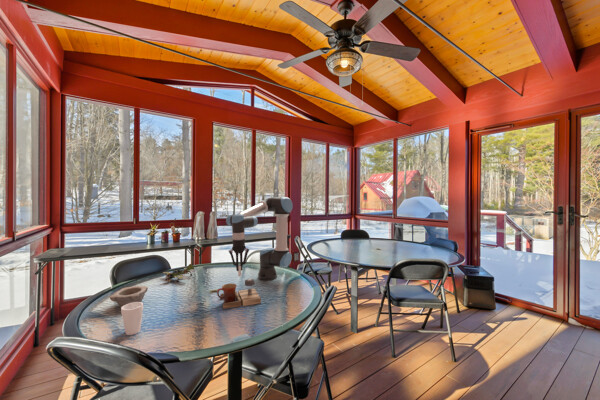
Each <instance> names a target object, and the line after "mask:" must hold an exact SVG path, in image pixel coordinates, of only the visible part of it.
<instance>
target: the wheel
mask: <svg viewBox="0 0 600 400" xmlns="http://www.w3.org/2000/svg"><path fill="white" fill-rule="evenodd" d="M244 286H246V287H252V286H255V279H253V278H247V279H245V280H244Z"/></svg>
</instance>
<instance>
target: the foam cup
mask: <svg viewBox="0 0 600 400" xmlns="http://www.w3.org/2000/svg"><path fill="white" fill-rule="evenodd" d="M143 312H144V303H143V301H141V302H133V303H129V304H126V305H124V306H122V307H120V313H121V316H122V320H123V322H122V323H123V326H124V332H125V335H127V336H133V335H135V334H138V333H140V331H141V329H142V323H143V322H142V321H143V320H142V319H143Z"/></svg>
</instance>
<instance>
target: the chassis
mask: <svg viewBox="0 0 600 400" xmlns="http://www.w3.org/2000/svg"><path fill="white" fill-rule="evenodd" d="M235 293H236V300H235V302H228V303H224V302H223V303H222V308H223V310H225V309H232V308H237V307H238V308H239V307H242V306H243V307H245V306H250V305H251V306H253V305H257V304H261V303H262V300H261V299H262V298H261V296H260V295H259V293H258V292H257V290H256V289H255V288H247V289H242V290H238V291H237V290H235ZM219 296H223V293H219ZM219 299H221V300H223V299H222V298H219Z"/></svg>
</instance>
